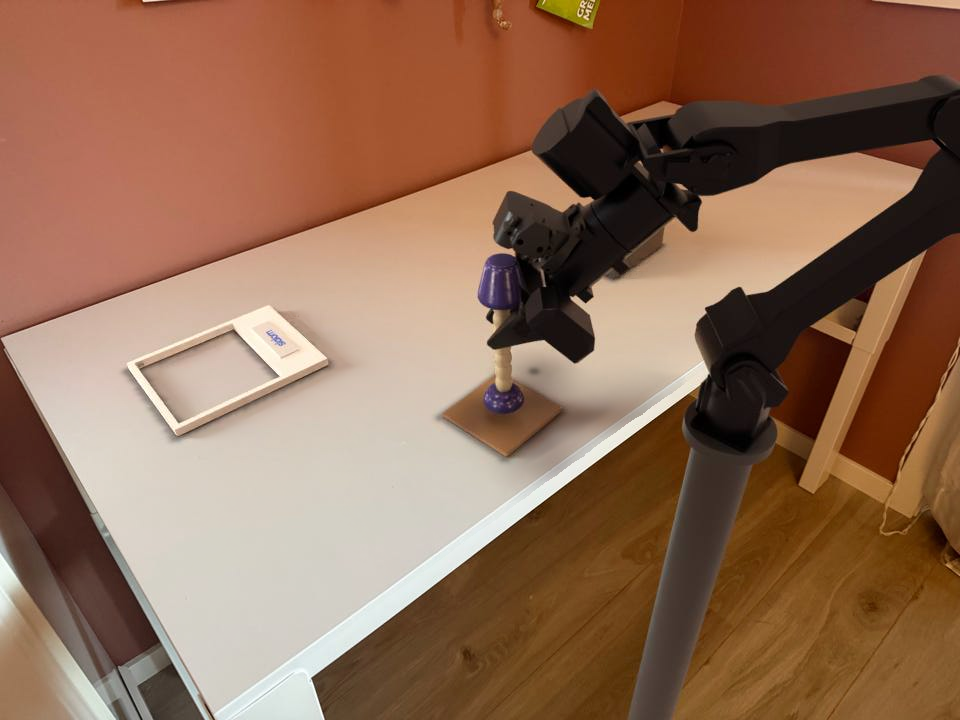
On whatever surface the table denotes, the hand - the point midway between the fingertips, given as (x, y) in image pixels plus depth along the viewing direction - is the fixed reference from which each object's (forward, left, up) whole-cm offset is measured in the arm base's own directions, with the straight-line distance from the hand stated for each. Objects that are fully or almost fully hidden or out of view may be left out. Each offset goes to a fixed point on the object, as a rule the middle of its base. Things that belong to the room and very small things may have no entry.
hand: (489, 333), depth 69 cm
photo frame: (+28, +14, -11) cm, 33 cm away
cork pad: (-1, -1, -11) cm, 11 cm away
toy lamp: (-1, -1, -9) cm, 9 cm away
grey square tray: (+11, -37, -11) cm, 40 cm away
